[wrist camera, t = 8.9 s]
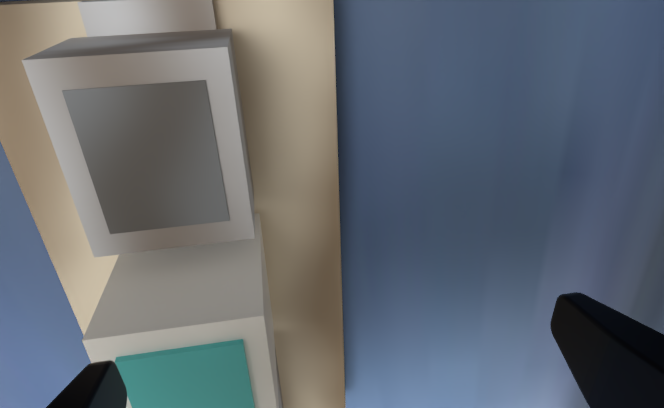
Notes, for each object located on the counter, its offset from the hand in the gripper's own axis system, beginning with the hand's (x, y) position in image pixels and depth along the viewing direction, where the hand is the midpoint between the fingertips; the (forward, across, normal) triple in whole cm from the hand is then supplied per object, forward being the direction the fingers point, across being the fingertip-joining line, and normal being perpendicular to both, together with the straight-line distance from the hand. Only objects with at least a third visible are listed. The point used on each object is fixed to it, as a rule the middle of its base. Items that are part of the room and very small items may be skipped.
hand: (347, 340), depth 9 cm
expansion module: (+9, +5, +5) cm, 12 cm away
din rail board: (+11, +5, +5) cm, 13 cm away
